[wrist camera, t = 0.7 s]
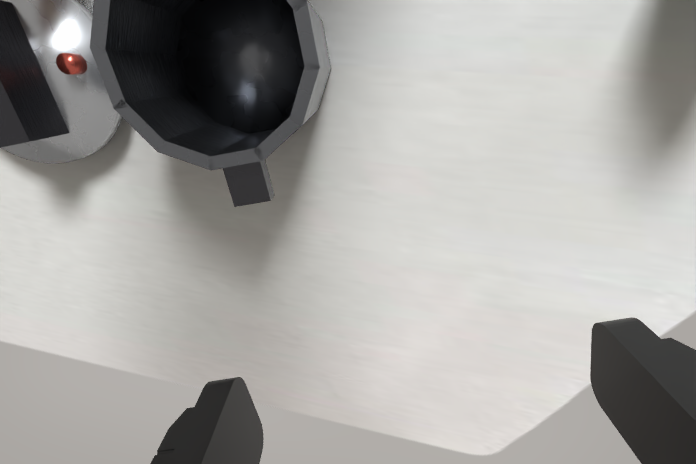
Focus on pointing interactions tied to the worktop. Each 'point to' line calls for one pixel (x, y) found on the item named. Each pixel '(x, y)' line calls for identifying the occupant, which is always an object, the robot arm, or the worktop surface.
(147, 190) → the worktop surface
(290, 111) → the graphite pot
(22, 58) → the steel lid
